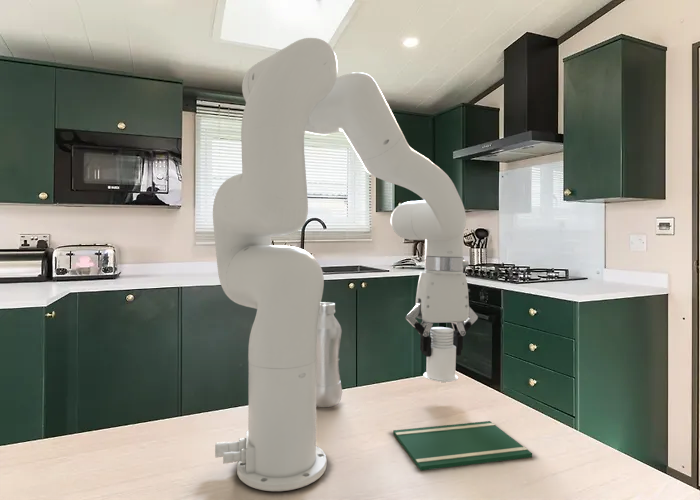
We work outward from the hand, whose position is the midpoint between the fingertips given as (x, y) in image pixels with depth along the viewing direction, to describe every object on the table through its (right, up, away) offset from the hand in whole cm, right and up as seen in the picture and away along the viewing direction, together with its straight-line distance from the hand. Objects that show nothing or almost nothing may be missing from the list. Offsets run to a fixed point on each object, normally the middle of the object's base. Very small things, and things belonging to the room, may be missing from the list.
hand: (441, 353), depth 89 cm
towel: (-1, -10, -19) cm, 22 cm away
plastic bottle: (-23, -10, -3) cm, 26 cm away
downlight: (0, -5, 0) cm, 5 cm away
